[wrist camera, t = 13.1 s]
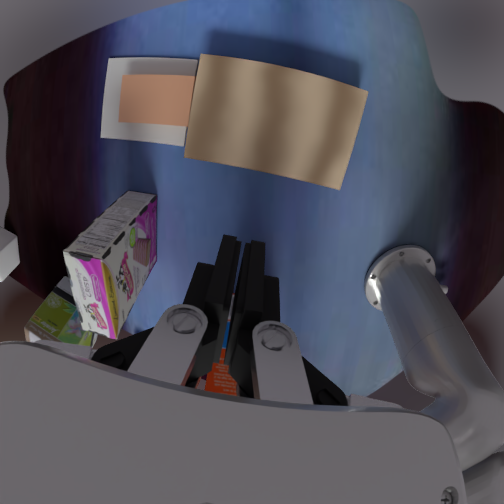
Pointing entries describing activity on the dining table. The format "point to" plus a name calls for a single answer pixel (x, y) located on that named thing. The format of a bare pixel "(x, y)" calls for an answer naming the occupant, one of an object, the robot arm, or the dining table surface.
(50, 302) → the tea box
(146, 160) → the dining table surface
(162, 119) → the block
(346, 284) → the dining table surface
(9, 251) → the medicine bottle
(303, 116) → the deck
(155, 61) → the mat
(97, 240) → the candy bar box
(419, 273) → the robot arm
